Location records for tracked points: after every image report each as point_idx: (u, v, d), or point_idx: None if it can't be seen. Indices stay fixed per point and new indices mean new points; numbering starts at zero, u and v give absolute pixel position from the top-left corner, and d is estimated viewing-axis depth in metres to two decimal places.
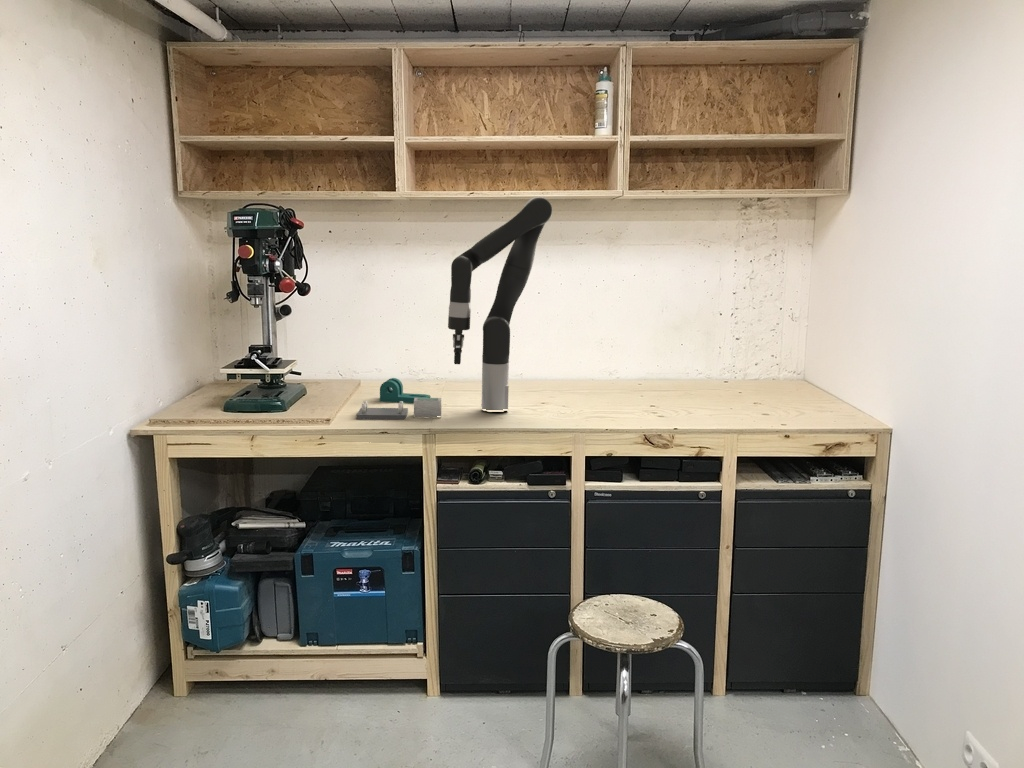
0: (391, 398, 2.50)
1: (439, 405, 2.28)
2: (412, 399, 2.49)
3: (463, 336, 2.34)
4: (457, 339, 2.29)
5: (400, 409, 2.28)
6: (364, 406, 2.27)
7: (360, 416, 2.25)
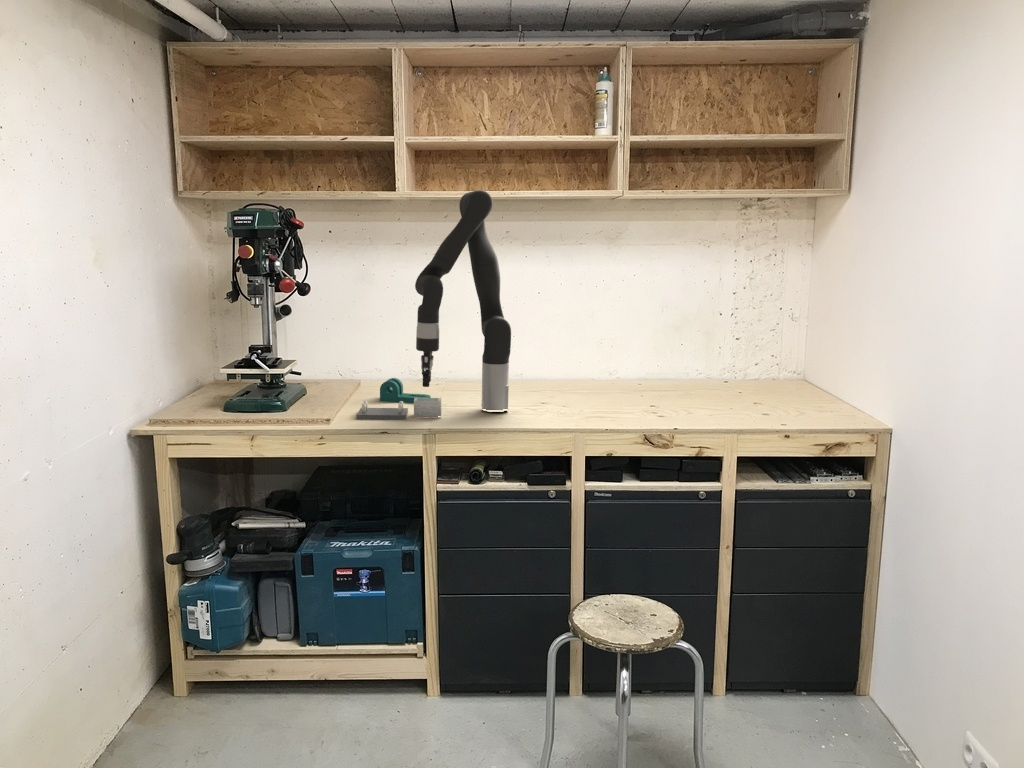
0: (391, 397, 2.50)
1: (439, 405, 2.28)
2: (412, 399, 2.49)
3: (432, 357, 2.26)
4: (425, 361, 2.21)
5: (400, 409, 2.28)
6: (364, 406, 2.27)
7: (360, 416, 2.25)
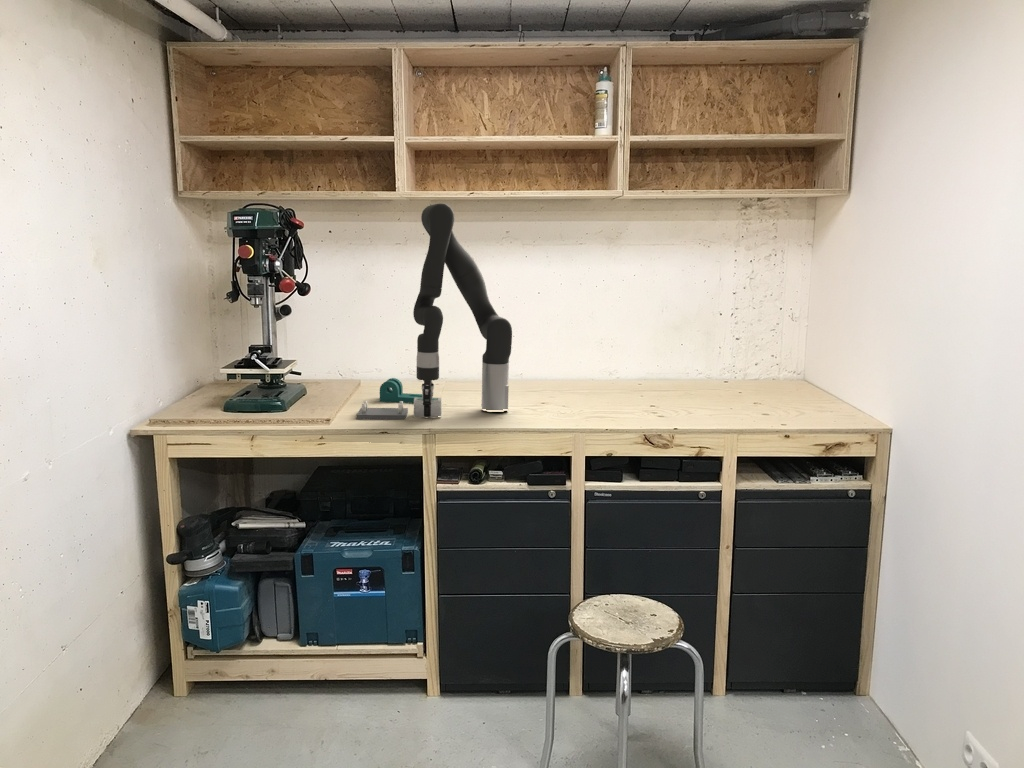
0: (391, 398, 2.50)
1: (439, 405, 2.28)
2: (412, 399, 2.49)
3: (432, 387, 2.27)
4: (425, 394, 2.23)
5: (400, 409, 2.28)
6: (364, 406, 2.27)
7: (360, 416, 2.25)
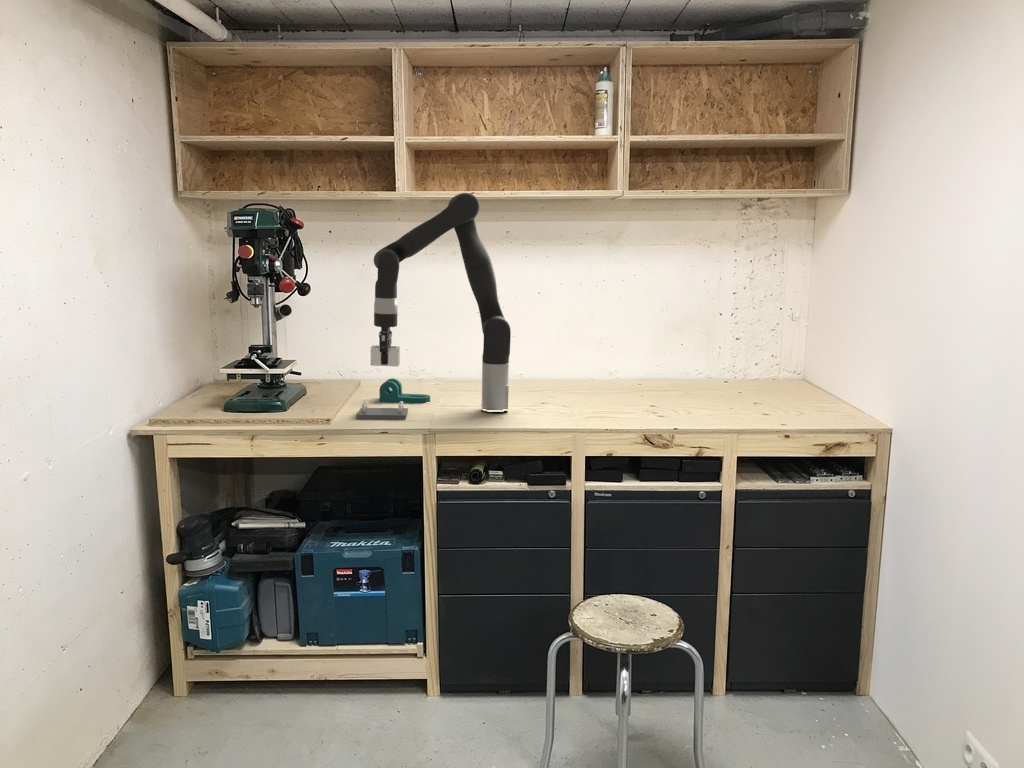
0: (391, 398, 2.49)
1: (396, 353, 2.24)
2: (412, 399, 2.49)
3: (390, 334, 2.23)
4: (382, 340, 2.19)
5: (400, 409, 2.28)
6: (364, 406, 2.27)
7: (360, 416, 2.25)
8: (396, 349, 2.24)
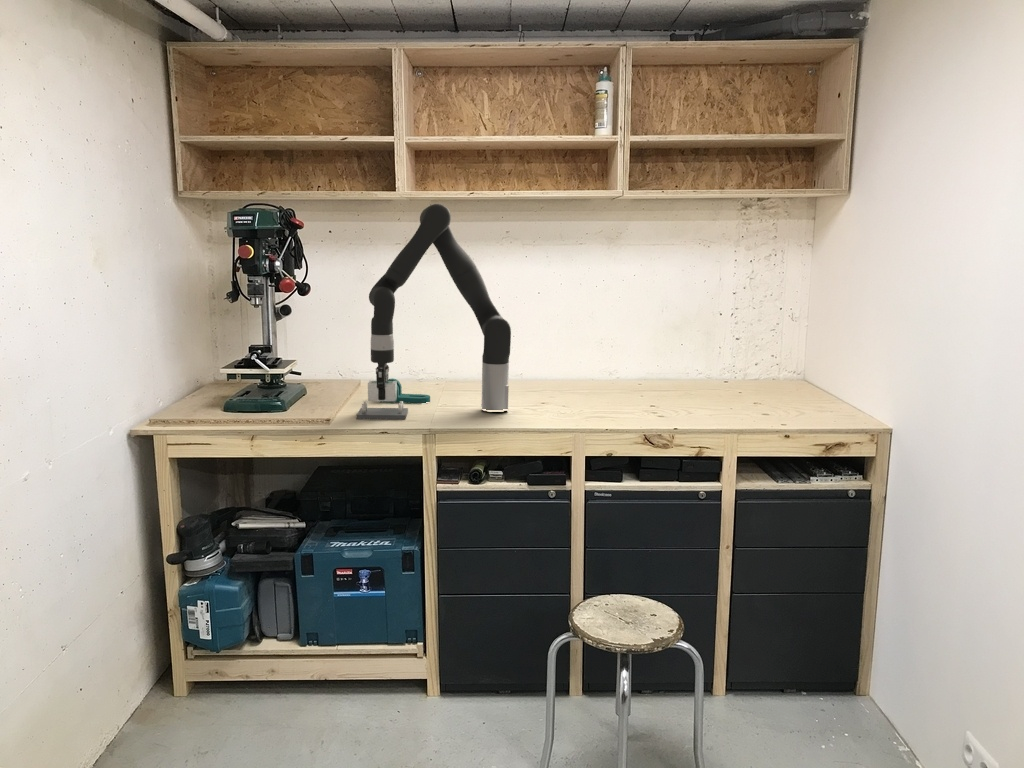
0: None
1: (393, 388, 2.26)
2: (412, 399, 2.49)
3: (386, 370, 2.25)
4: (379, 376, 2.21)
5: (400, 409, 2.28)
6: (364, 406, 2.27)
7: (360, 416, 2.25)
8: (393, 384, 2.26)
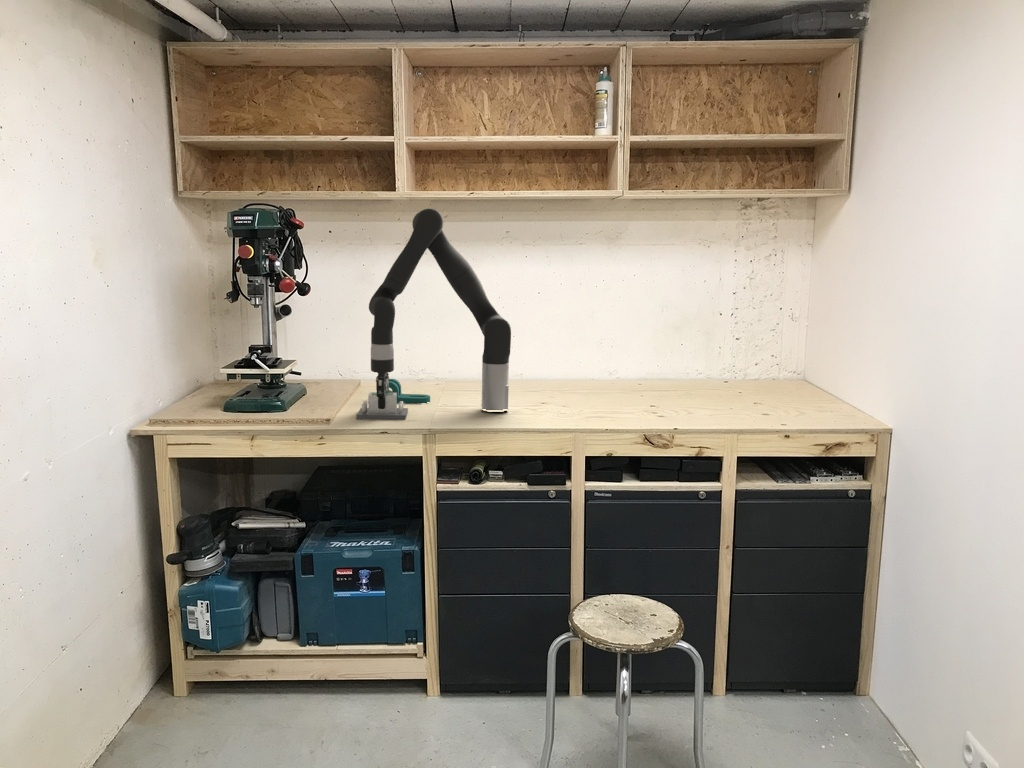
0: None
1: (394, 400, 2.27)
2: (413, 399, 2.49)
3: (387, 379, 2.26)
4: (379, 385, 2.21)
5: (400, 409, 2.28)
6: (364, 406, 2.27)
7: (360, 416, 2.25)
8: (393, 396, 2.27)
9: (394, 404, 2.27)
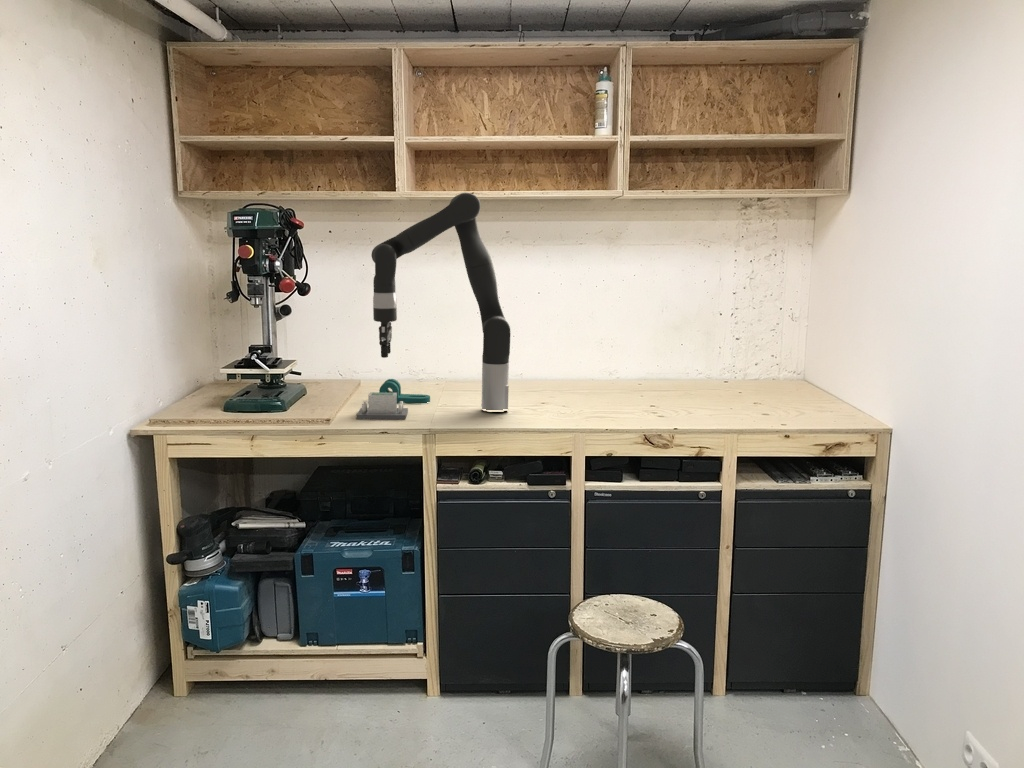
0: None
1: (394, 400, 2.27)
2: (413, 400, 2.48)
3: (390, 328, 2.24)
4: (382, 331, 2.19)
5: (400, 409, 2.28)
6: (364, 406, 2.27)
7: (360, 416, 2.25)
8: (393, 396, 2.27)
9: (394, 404, 2.27)
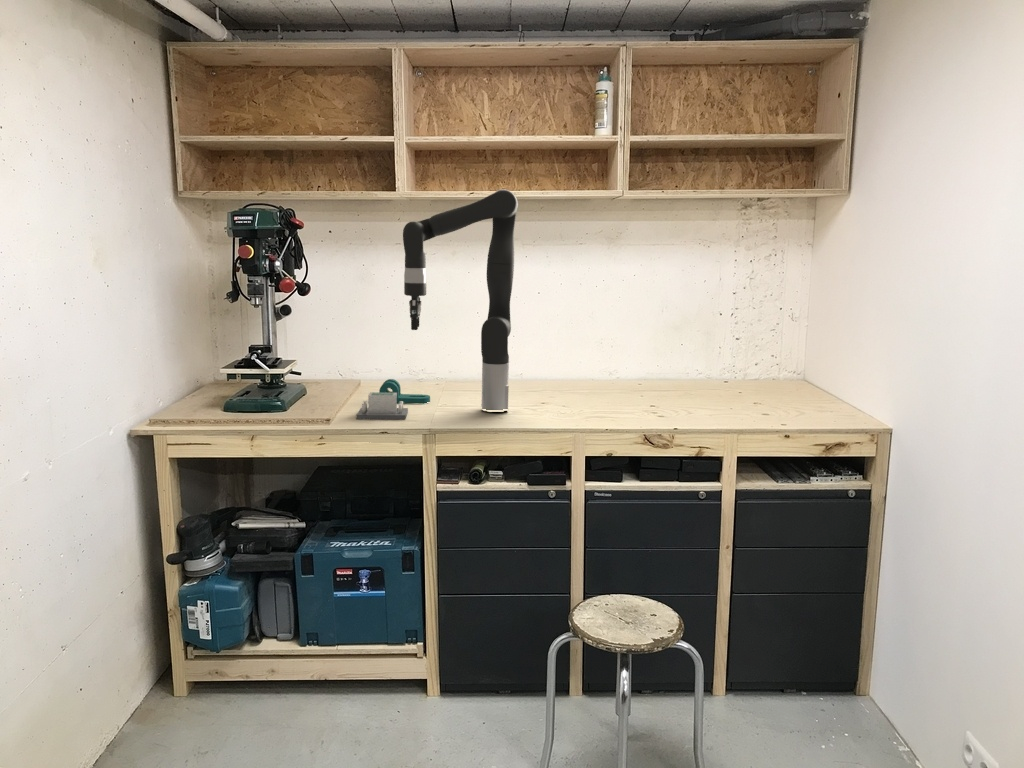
0: None
1: (394, 400, 2.27)
2: (413, 400, 2.48)
3: (419, 302, 2.35)
4: (413, 304, 2.30)
5: (400, 409, 2.28)
6: (364, 406, 2.27)
7: (360, 416, 2.25)
8: (393, 396, 2.27)
9: (394, 404, 2.27)
